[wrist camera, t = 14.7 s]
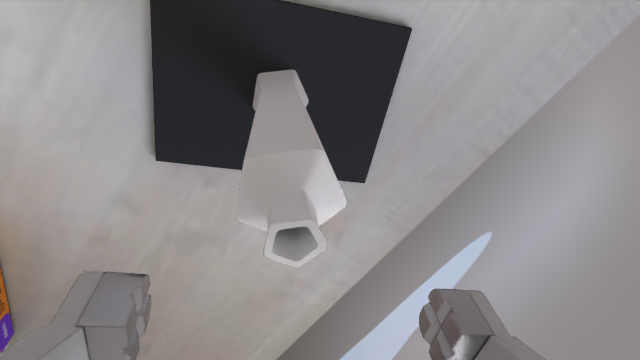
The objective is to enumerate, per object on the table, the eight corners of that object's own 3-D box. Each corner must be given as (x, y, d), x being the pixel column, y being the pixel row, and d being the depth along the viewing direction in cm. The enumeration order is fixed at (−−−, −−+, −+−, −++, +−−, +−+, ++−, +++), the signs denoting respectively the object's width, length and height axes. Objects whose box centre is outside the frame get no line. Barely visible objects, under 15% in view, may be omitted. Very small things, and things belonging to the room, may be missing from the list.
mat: (409, 27, 24) (412, 28, 23) (363, 180, 30) (364, 183, 29) (151, -27, 20) (149, -27, 20) (157, 157, 26) (155, 160, 26)
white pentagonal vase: (231, 80, 24) (193, 222, 11) (292, 52, 23) (324, 167, 11) (263, 137, 26) (261, 307, 14) (319, 113, 26) (370, 265, 13)
